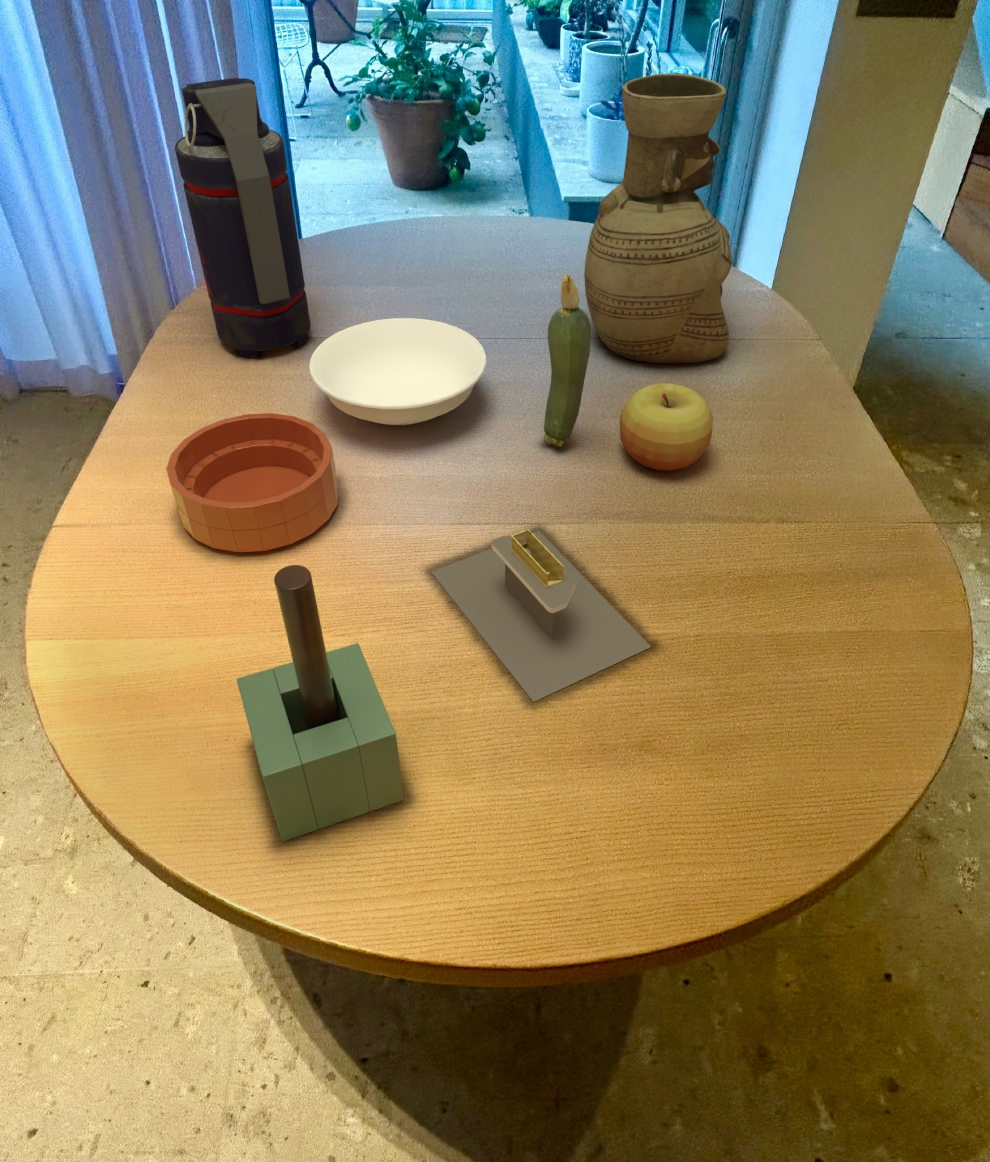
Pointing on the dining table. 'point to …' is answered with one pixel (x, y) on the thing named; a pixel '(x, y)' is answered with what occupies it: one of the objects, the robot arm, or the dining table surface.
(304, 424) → the mixing bowl
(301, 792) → the stand
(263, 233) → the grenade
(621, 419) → the apple
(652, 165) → the ceramic vessel
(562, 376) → the vegetable
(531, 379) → the dining table surface
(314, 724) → the stick
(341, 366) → the bowl
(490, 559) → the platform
